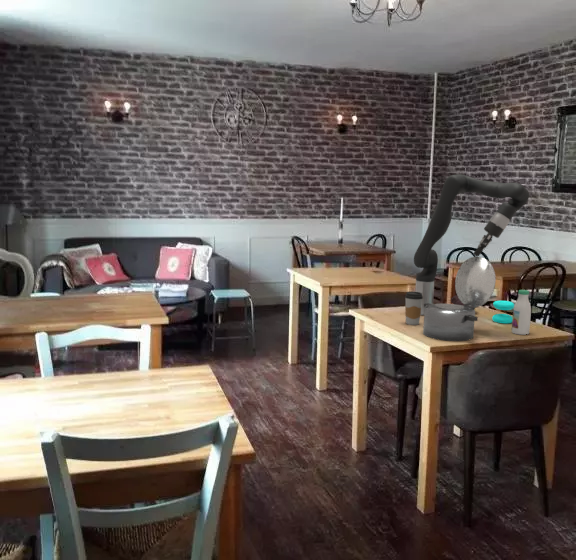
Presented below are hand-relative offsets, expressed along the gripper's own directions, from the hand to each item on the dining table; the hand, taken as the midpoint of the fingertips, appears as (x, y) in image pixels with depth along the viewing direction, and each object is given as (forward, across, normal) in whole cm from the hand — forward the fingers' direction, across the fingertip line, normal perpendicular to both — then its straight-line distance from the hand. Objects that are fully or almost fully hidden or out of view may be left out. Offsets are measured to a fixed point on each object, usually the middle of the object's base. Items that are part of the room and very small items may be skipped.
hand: (475, 255), depth 291 cm
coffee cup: (+43, -14, -5) cm, 46 cm away
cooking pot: (+36, +2, +10) cm, 38 cm away
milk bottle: (+18, -12, +37) cm, 43 cm away
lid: (+11, -4, +6) cm, 13 cm away
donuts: (+19, -33, +30) cm, 49 cm away
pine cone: (+26, -52, +14) cm, 59 cm away
